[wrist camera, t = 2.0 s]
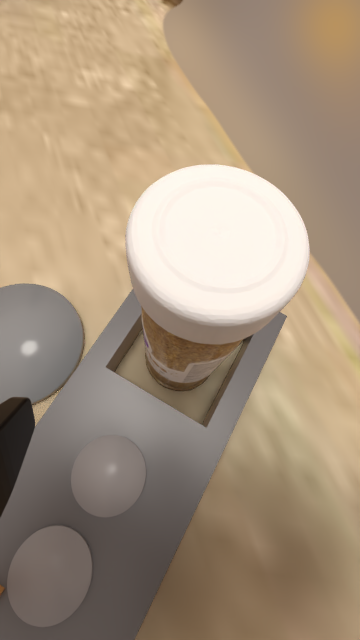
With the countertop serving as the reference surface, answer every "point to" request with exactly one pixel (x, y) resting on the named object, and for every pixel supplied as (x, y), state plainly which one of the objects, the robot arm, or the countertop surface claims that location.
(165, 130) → the countertop surface
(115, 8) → the countertop surface
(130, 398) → the grey domed holder tray
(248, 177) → the sprinkles bottle
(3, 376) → the slate coaster
